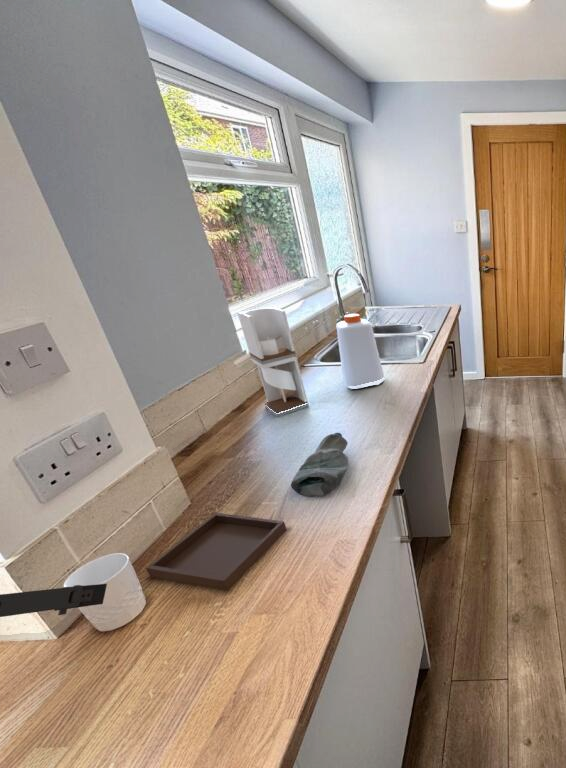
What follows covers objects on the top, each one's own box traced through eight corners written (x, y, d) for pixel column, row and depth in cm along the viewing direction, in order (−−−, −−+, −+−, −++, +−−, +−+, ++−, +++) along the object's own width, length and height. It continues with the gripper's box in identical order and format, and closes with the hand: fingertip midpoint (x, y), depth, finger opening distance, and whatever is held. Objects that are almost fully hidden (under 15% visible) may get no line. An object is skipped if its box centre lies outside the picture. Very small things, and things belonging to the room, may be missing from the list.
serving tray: (150, 577, 77) (145, 567, 76) (219, 521, 91) (215, 512, 90) (227, 590, 74) (223, 581, 73) (286, 530, 88) (284, 521, 87)
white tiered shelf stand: (265, 407, 146) (237, 312, 132) (296, 398, 153) (272, 306, 140) (277, 416, 139) (248, 317, 125) (308, 406, 146) (284, 310, 132)
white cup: (107, 601, 73) (82, 559, 69) (159, 589, 75) (138, 548, 71) (79, 641, 66) (50, 598, 62) (137, 627, 68) (112, 584, 64)
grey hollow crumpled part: (341, 498, 97) (365, 442, 120) (333, 474, 94) (358, 421, 117) (286, 506, 97) (320, 449, 119) (276, 483, 94) (313, 428, 116)
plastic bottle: (347, 392, 156) (333, 322, 145) (342, 380, 169) (328, 314, 158) (387, 384, 163) (376, 316, 152) (379, 373, 175) (368, 309, 164)
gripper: (-351, 697, 36) (-61, 645, 56) (-28, 649, 39) (139, 616, 59) (-299, 603, 39) (-40, 585, 58) (-2, 565, 42) (149, 561, 62)
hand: (50, 601), depth 59 cm, fingers open, 13 cm apart
